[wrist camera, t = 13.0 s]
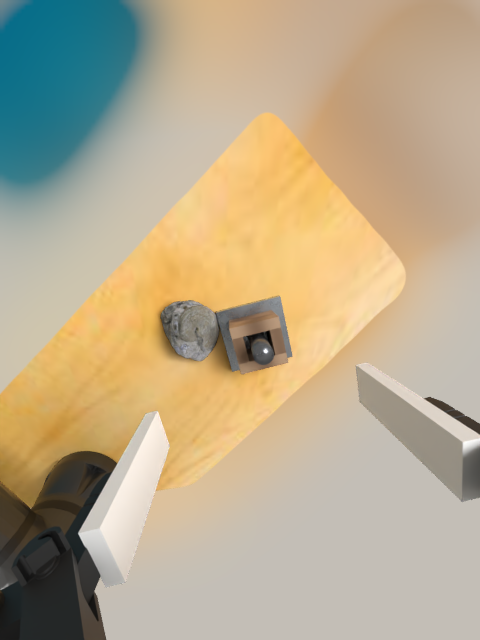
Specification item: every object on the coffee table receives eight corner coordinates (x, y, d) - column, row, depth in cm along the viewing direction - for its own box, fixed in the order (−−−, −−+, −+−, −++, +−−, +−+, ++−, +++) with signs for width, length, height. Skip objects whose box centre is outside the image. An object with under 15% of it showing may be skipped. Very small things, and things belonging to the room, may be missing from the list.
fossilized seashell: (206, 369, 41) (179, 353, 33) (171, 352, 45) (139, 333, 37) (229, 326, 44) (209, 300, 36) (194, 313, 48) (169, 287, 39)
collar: (239, 359, 42) (241, 374, 36) (229, 320, 40) (229, 329, 34) (280, 349, 42) (288, 362, 36) (271, 309, 40) (278, 316, 34)
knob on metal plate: (232, 369, 44) (233, 401, 33) (216, 311, 41) (211, 326, 30) (291, 354, 44) (311, 382, 33) (278, 295, 41) (296, 304, 30)
